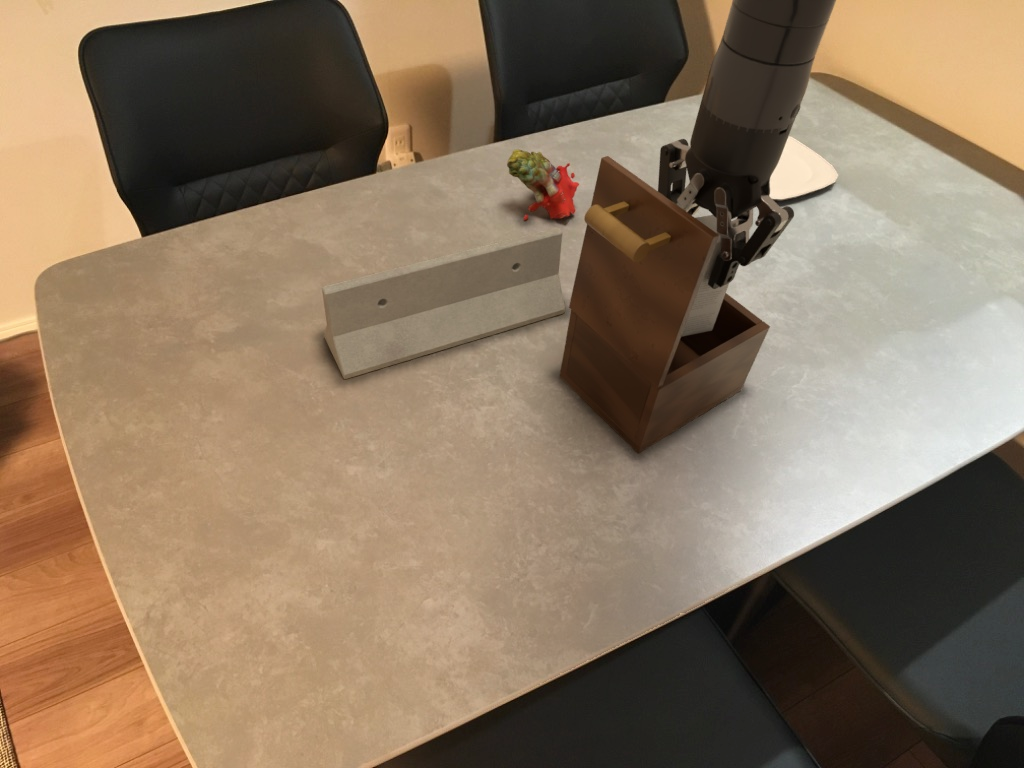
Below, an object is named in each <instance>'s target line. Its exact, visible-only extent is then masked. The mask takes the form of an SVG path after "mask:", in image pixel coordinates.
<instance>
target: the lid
mask: <svg viewBox="0 0 1024 768" xmlns="http://www.w3.org/2000/svg"><path fill="white" fill-rule="evenodd" d="M583 217H584V219H583V220H584V223H585V224H586V227H585V231H584V235H583V236H584V237H583V241H582V245H581V250H580V254H579V259H578V264H577V267H576V273H575V277H574V282H573V287H572V292H571V297H570V300H569V306H568V309H569V310H570V311H571V310H572V311H573V312H574V313H575V314H576V315H578V316H579V317H580V318H581V319H582V320H583V321H584V322H585V323H586V324H587V325H589V326H590V327H591V328H592V329H593V330H594V331H595V332H596V333H597V334H598V335H600V336H601V337H602V338H603V339H604V340H605V341H606V342H607V343H608V344H609V345H611V346H612V347H613V348H614V349H615V350H616V351H617V352H618V353H619V354H620V355H622V356H623V357H624V358H625V359H626V360H627V361H628V362H629V363H630V364H632V365H633V366H634V367H635V368H636V369H637V370H638V371H639V372H640V373H641V374H643V375H644V376H645V377H646V378H647V379H648V380H649V381H650V382H651V383H652V384H654V385H655V386H656V387H657V388H658V387H660V386H662V385H663V383H664V381H665V378H666V375H667V373H668V370H669V368H670V365H671V362H672V360H673V357H674V354H675V352H676V349H677V346H678V344H679V341H680V338H681V336H682V333H683V330H684V328H685V325H686V322H687V320H688V317H689V314H690V312H691V309H692V306H693V304H694V301H695V299H696V296H697V293H698V291H699V288H700V285H701V283H702V280H703V277H704V275H705V272H706V269H707V267H708V264H709V261H710V259H711V256H712V253H713V251H714V248H715V245H716V243H717V240H718V237H719V235H718V234H717V233H716V232H714V231H713V230H711V229H710V228H709V227H707V226H706V225H704V224H703V223H702V222H700V221H699V220H697V219H696V218H697V217H694V215H690V214H689V213H687V212H686V211H685V210H683V209H682V208H680V207H679V206H678V205H676V204H675V203H673V202H672V201H671V200H669V199H668V198H666V197H665V196H664V195H662V194H661V193H659V192H658V189H656V188H654V187H652V186H651V185H650V184H649V183H647V182H646V181H644V180H643V179H641V178H640V177H638V176H637V175H636V174H634V173H633V172H631V171H630V170H629V169H627V168H626V167H624V166H623V165H622V164H620V163H619V162H617V161H616V160H614V159H613V158H612V157H610V156H609V155H607V156H606V155H605V156H603V157H601V159H600V163H599V168H598V171H597V177H596V181H595V185H594V190H593V195H592V199H591V204H590V207H589V208H588V209H587V211H586V212H585V214H584V216H583Z"/></svg>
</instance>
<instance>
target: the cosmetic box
mask: <svg viewBox="0 0 1024 768" xmlns="http://www.w3.org/2000/svg"><path fill="white" fill-rule="evenodd" d="M695 218H696V219H697V220H699V221H700V222H702V223H703V224H704V225H706V226H707V227H709V228H710V229H711V230H713V231H714V232H716V233H717V218H716V217H714V216H713V215H712V214H709V215H705V216H698V217H697V216H696V217H695ZM720 254H721V250H720V235H719V237H718V240H717V243H716V245H715V248H714V251H713V253H712V256H711V259H710V261H709V264H708V267H707V269H706V272H705V275H704V277H703V280H702V283H701V285H700V288H699V291H698V293H697V296H696V299H695V301H694V304H693V306H692V309H691V312H690V314H689V317H688V320H687V322H686V325H685V328H684V330H683V333H682V336H681V337H683V336H687V335H692V334H697V333H702V332H707V331H712V329H713V326H714V324H715V321H716V318H717V315H718V313H719V310H720V307H721V304H722V302H723V299H724V296H725V293H727V290H728V288H729V284H730V283H728V284H726V285H724V286H722V287H718V288H716V289H713V288H711V287H710V286H709V285H708V281H709V278H710V276H711V273H712V270H713V267H714V264H715V261H716V258H717V256H718V255H720Z"/></svg>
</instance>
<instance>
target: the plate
mask: <svg viewBox="0 0 1024 768" xmlns="http://www.w3.org/2000/svg"><path fill="white" fill-rule="evenodd" d="M838 177H839V174H838V172H837V170H836V169H835V167H834V165H832V164H831V163H830V162H829V161H828V160H826V159H825V158H824V157H823V156H821V155H820V154H818V153H817V152H816V151H815V150H813V149H812V148H810V147H808V146H807V145H805V144H804V143H802V142H800V141H799V140H798V139H796V138H794V137H792V136H790V135H789V136H788V139H787V141H786V144H785V147H784V149H783V152H782V155H781V157H780V160H779V162H778V164H777V166H776V168H775V170H774V171H773V173H772V175H771V177H770V195H769V196H770V197H771V198H772V199H773V200H774V201H785V200H791V199H797V198H799V197H802V196H805V195H809V194H812V193H815V192H818V191H820V190H823V189H825V188H828V187H829V186H832V185H833V184H835V182H836V181H837V179H838Z"/></svg>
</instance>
